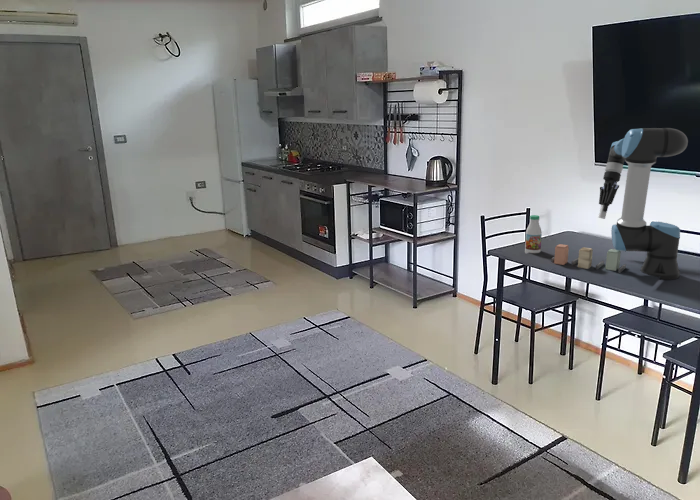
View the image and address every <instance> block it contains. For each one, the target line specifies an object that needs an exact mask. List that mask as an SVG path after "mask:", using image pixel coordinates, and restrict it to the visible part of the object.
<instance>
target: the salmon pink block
mask: <svg viewBox="0 0 700 500" xmlns="http://www.w3.org/2000/svg"><path fill="white" fill-rule="evenodd" d="M569 249H570V248H569V244H562V243H561V244H560V243H559V244H557V245H556V246H555V248H554V256H555V259H554V262H553V264H556V265H561V266H562V265H563V266H565V265H566V264H568V260H569Z"/></svg>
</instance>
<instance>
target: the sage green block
mask: <svg viewBox="0 0 700 500" xmlns="http://www.w3.org/2000/svg"><path fill="white" fill-rule="evenodd" d="M621 254H622V251H618V250H616V249H615V248H610V249H609V250H607V252H606V259H605V270H607V271H608V270H609V271H614V272H616V271H618V269H619V268H620V264H621Z"/></svg>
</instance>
